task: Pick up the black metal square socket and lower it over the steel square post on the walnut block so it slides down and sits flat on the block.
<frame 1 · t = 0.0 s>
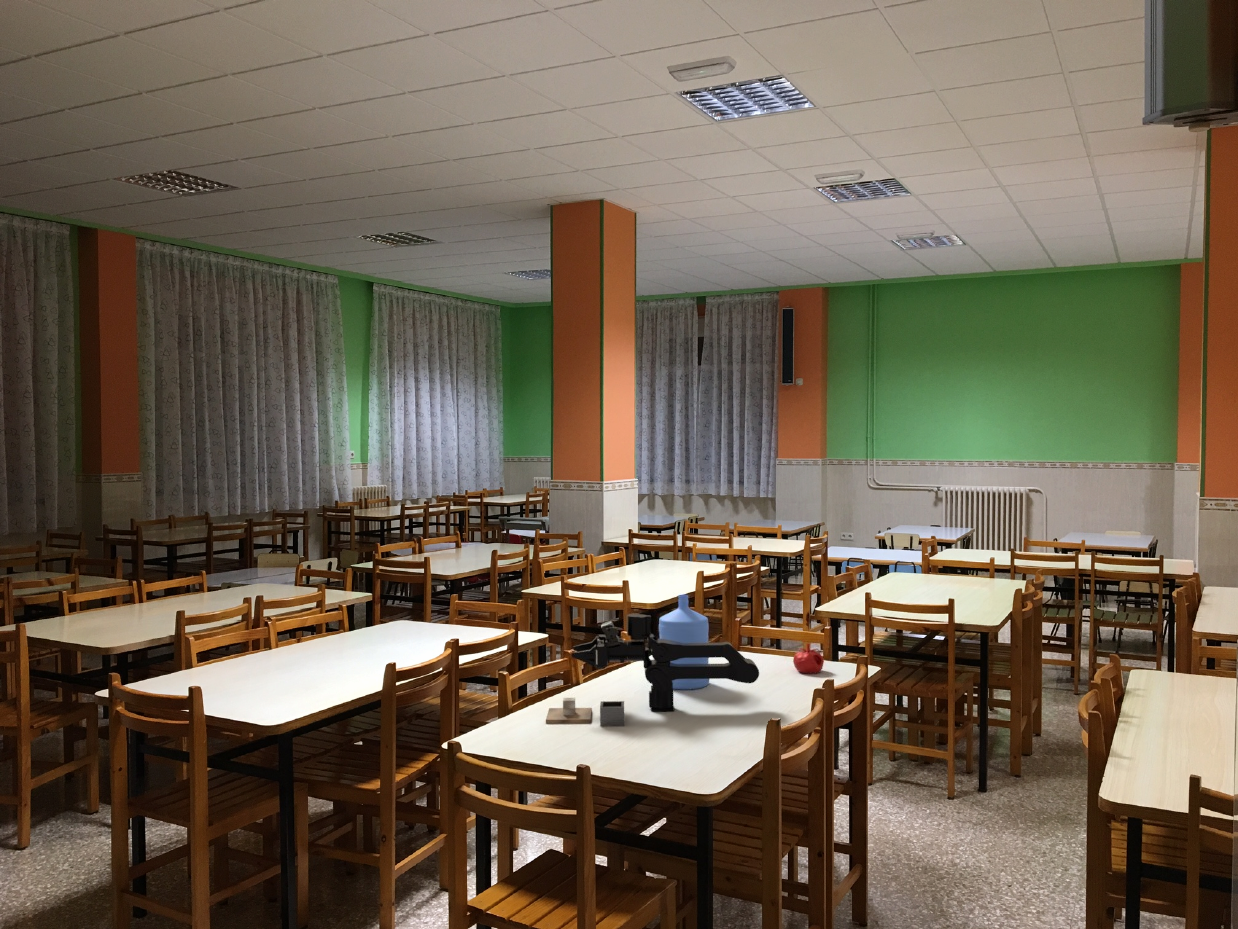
hand: (572, 651, 277), 17 cm above the table, tool horizontal, fingers open, 9 cm apart
socket: (612, 722, 263), on the table
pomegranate: (808, 672, 321), on the table
post block: (569, 717, 269), on the table
water jug: (684, 685, 305), on the table
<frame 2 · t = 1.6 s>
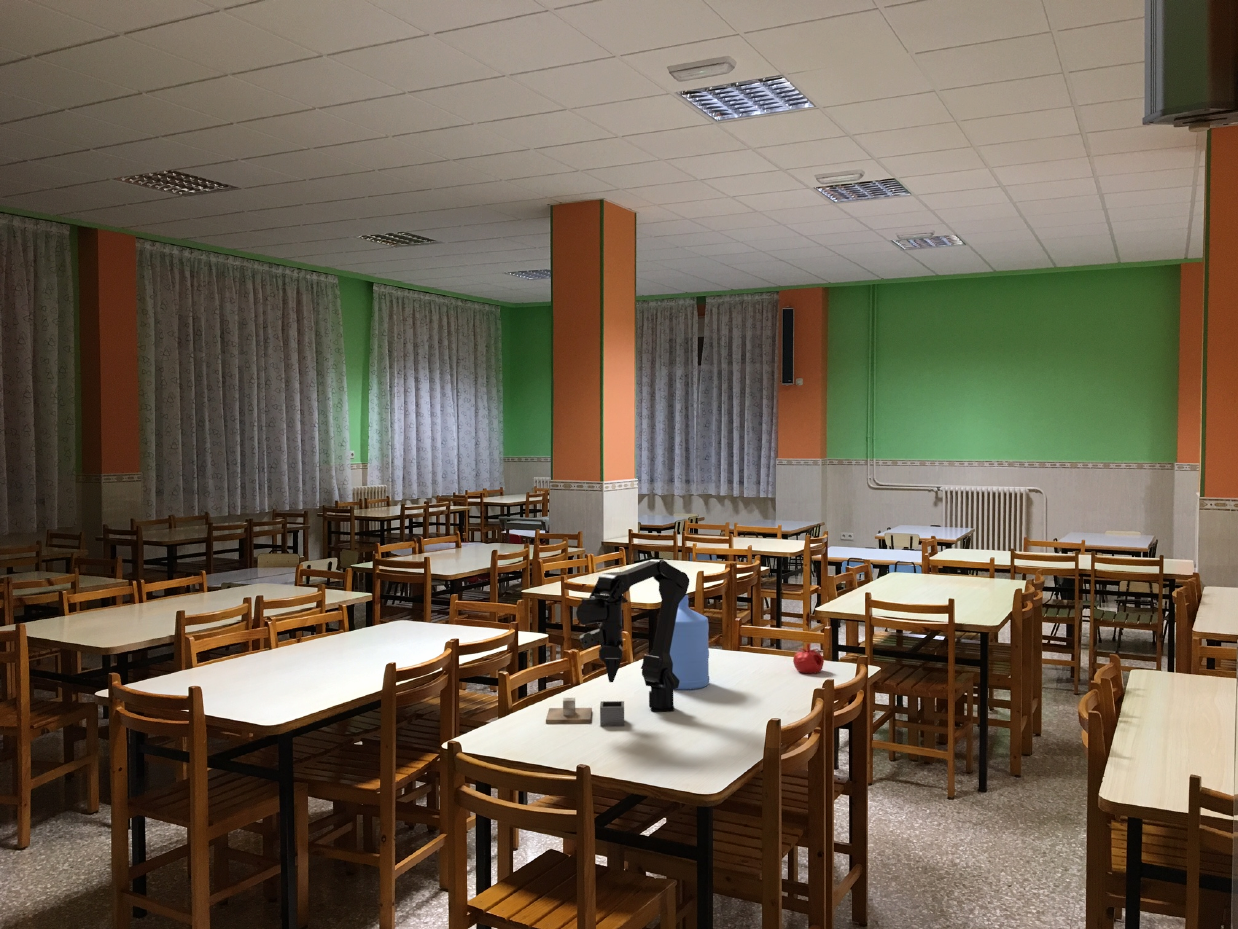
hand: (611, 678, 263), 12 cm above the table, tool pointing down, fingers open, 9 cm apart
nothing on the table moved.
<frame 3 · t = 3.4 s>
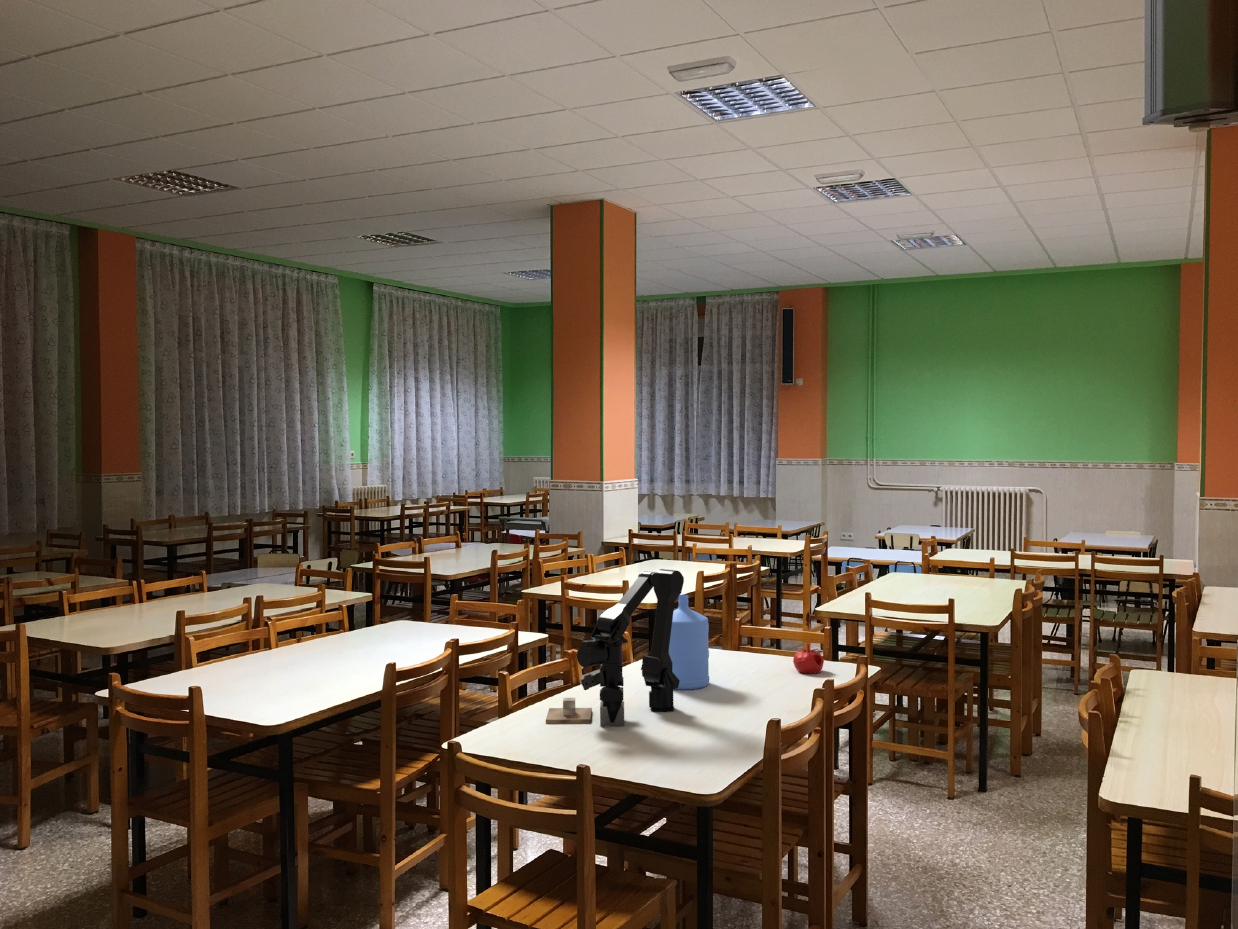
hand: (612, 719, 263), 1 cm above the table, tool pointing down, fingers closed on socket, 6 cm apart
socket: (612, 722, 263), on the table, touching gripper
everything else where it was.
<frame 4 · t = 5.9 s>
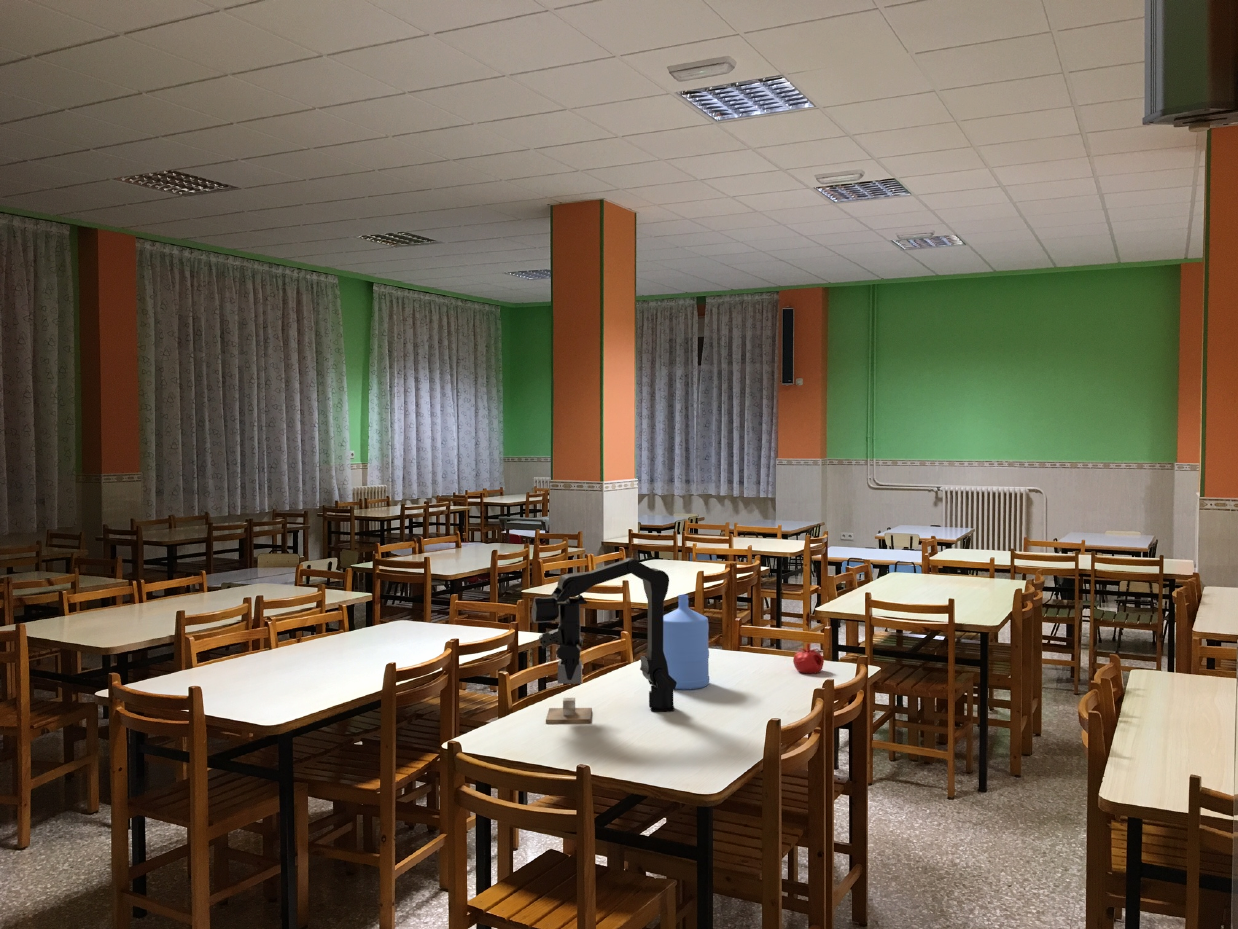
hand: (570, 677, 268), 11 cm above the table, tool pointing down, fingers closed on socket, 6 cm apart
socket: (570, 680, 268), point 10 cm above the table, touching gripper
everything else where it was.
when the fingers open (3 cm above the table, at t = 8.8 s): socket drops 1 cm, resting on post block.
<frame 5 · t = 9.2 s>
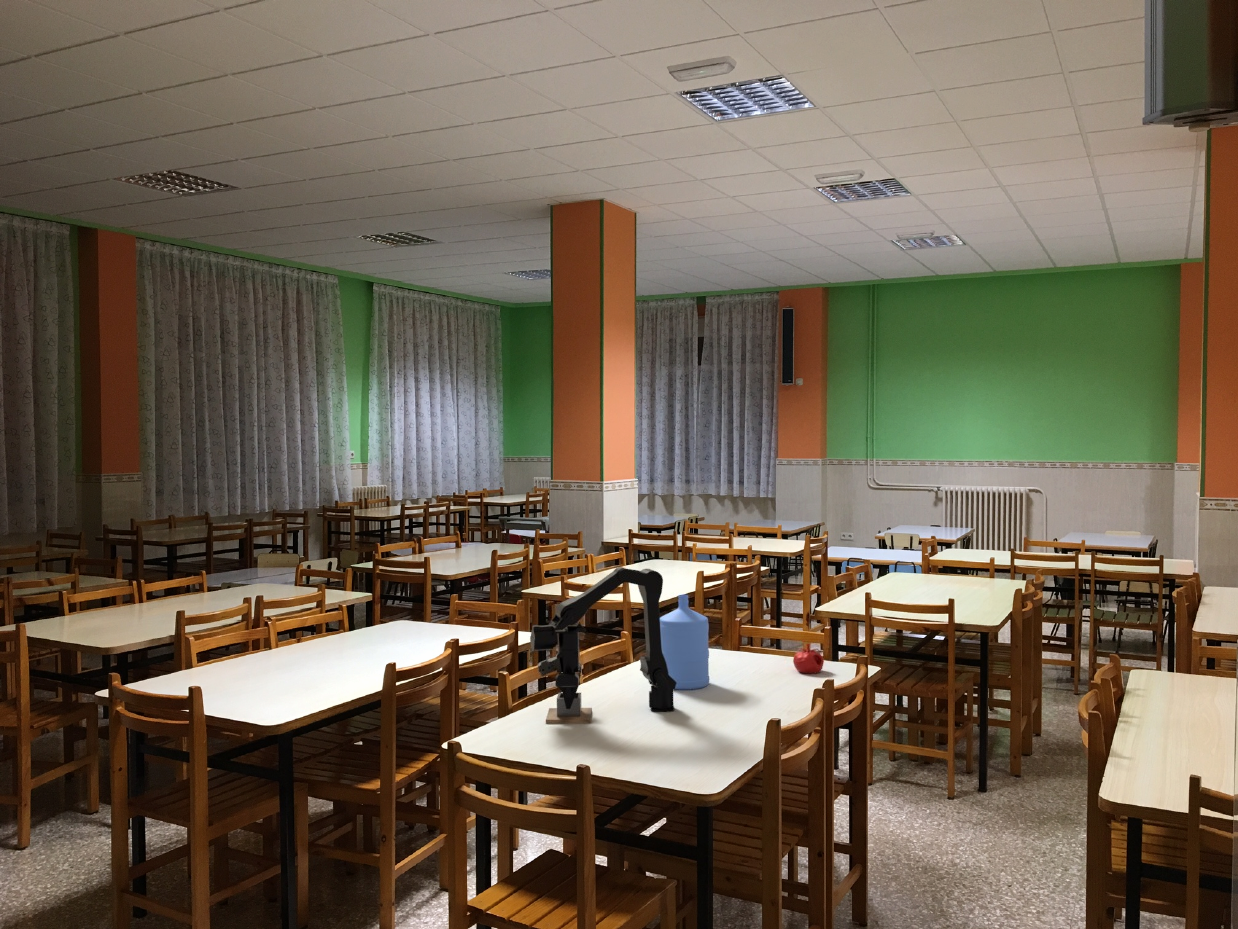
hand: (569, 704, 269), 3 cm above the table, tool pointing down, fingers open, 9 cm apart
socket: (569, 713, 269), point 1 cm above the table, touching post block
everything else where it was.
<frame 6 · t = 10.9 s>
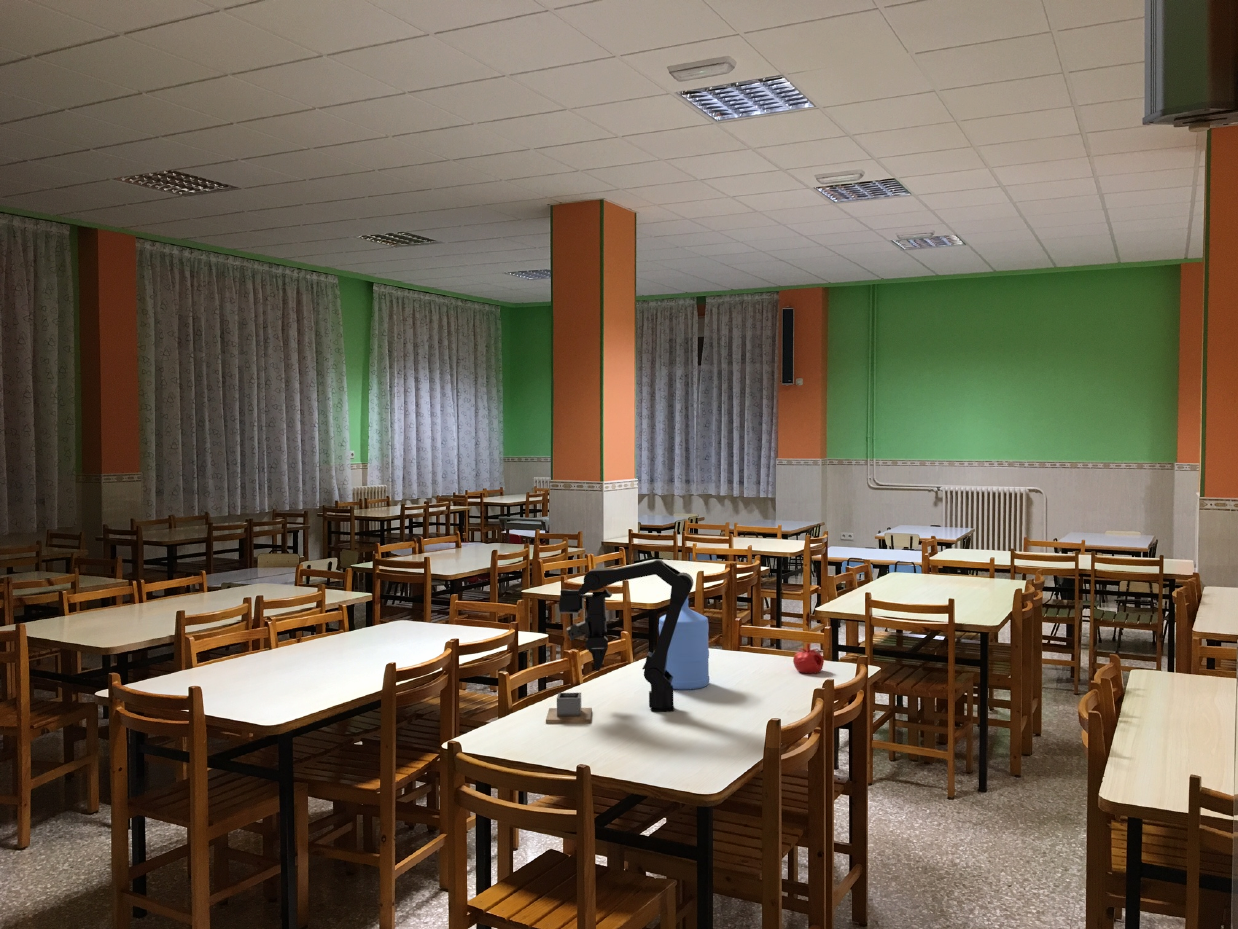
hand: (597, 667, 279), 11 cm above the table, tool pointing down, fingers open, 9 cm apart
nothing on the table moved.
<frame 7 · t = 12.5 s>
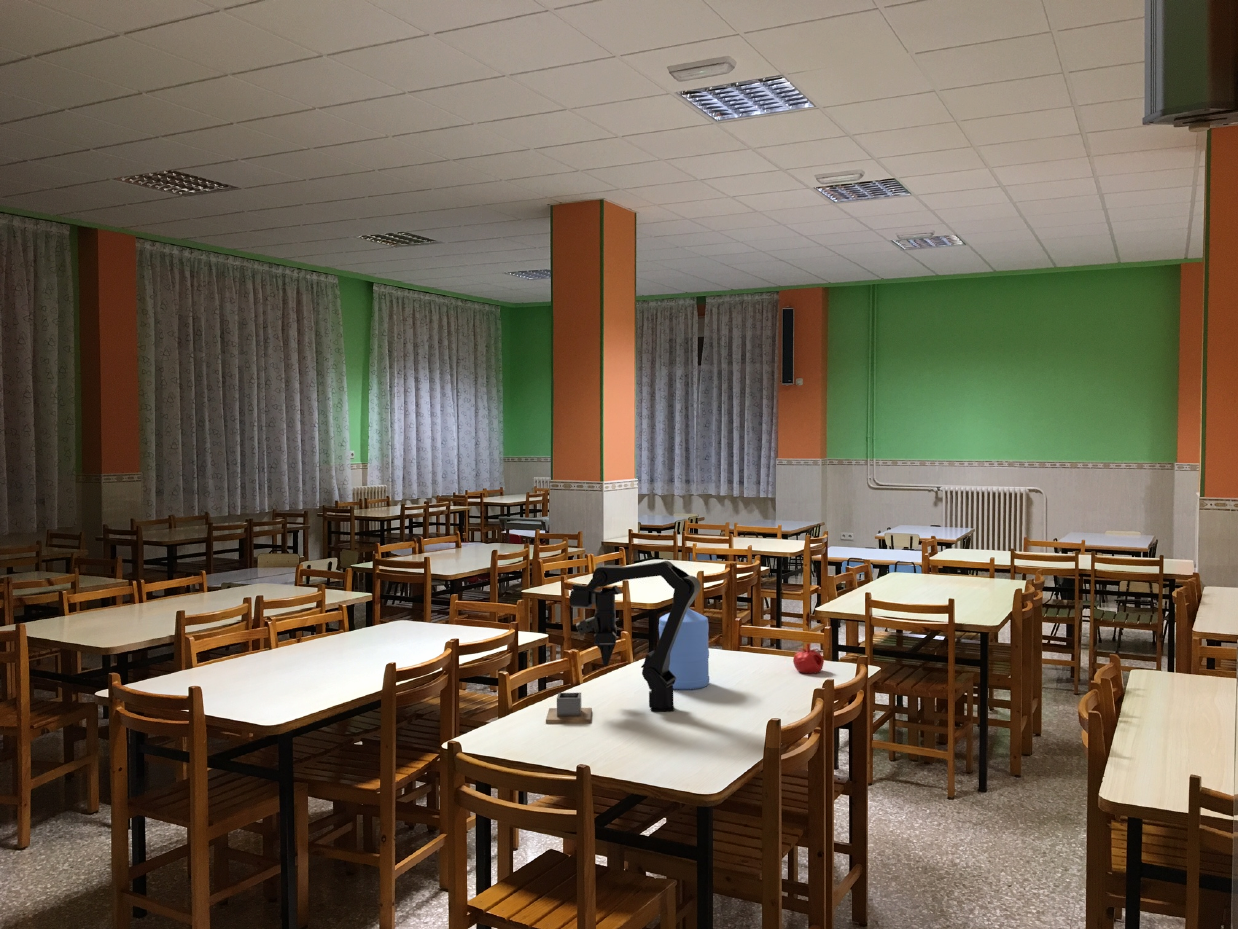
hand: (605, 662, 283), 12 cm above the table, tool pointing down, fingers open, 9 cm apart
nothing on the table moved.
at the end: socket 0.0 cm off-centre on the post block, point 1.0 cm above the post block's base; socket tilted 0°; the gripper is holding nothing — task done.
